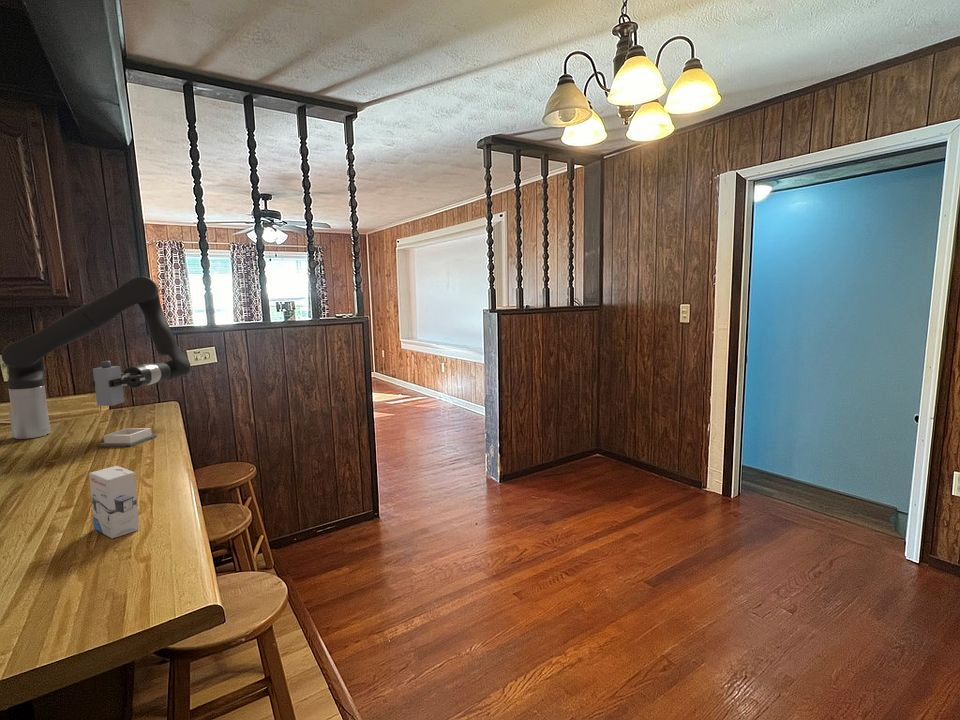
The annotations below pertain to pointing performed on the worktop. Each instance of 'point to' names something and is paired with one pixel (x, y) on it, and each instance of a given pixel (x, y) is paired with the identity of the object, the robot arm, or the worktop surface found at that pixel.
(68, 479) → the worktop surface
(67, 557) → the worktop surface
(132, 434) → the socket block
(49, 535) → the worktop surface
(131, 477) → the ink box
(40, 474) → the worktop surface
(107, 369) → the grey-blue square bottle
